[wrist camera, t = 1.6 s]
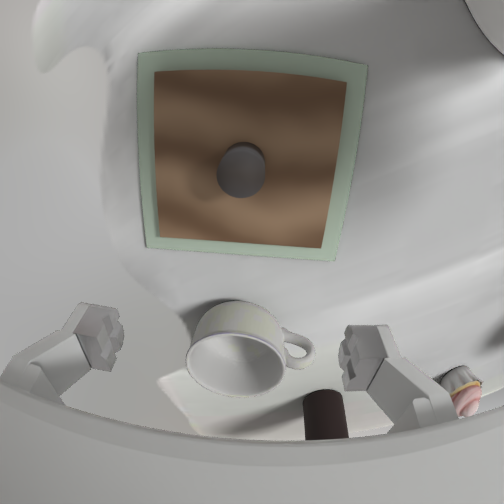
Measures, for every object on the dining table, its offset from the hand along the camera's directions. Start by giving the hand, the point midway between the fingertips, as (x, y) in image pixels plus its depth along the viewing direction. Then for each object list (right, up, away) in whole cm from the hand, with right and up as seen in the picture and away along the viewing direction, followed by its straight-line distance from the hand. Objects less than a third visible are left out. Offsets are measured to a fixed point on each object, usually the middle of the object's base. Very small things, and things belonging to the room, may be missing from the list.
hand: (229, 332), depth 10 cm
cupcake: (+39, -20, +35) cm, 56 cm away
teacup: (+1, -6, +27) cm, 28 cm away
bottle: (+13, -22, +37) cm, 45 cm away
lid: (0, +11, +16) cm, 20 cm away
